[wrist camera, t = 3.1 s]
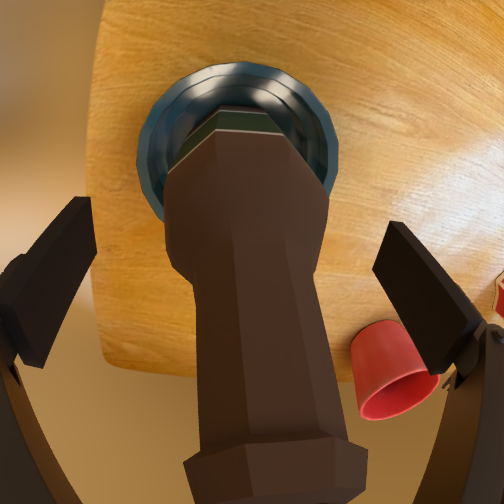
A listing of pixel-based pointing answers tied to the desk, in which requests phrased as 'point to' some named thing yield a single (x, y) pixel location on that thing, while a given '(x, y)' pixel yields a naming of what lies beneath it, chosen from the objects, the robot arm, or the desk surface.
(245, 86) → the bowl
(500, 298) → the milk carton
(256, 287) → the beer bottle
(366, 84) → the desk surface
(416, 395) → the flower pot
